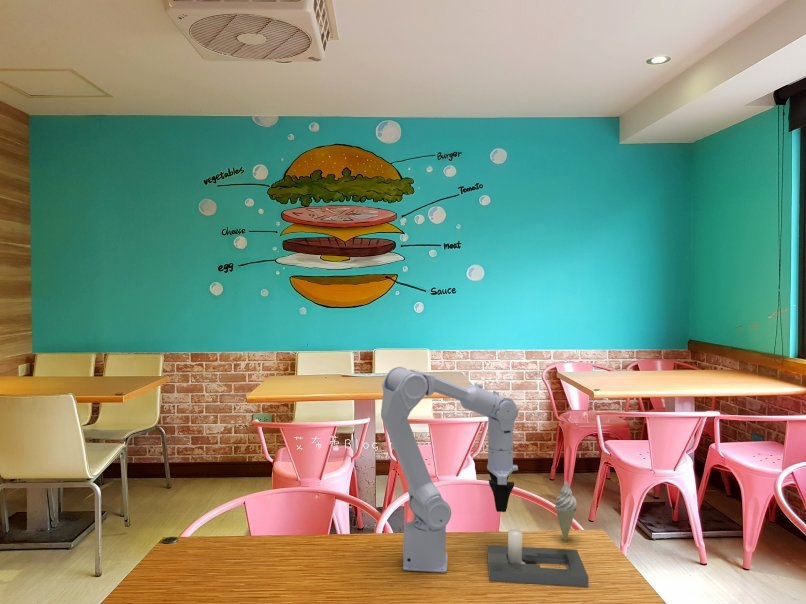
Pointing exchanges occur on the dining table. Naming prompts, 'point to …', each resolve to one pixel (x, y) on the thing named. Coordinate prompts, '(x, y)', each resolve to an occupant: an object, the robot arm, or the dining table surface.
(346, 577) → the dining table surface
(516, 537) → the peg
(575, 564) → the keyhole plate
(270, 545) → the dining table surface
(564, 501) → the ice cream cone
